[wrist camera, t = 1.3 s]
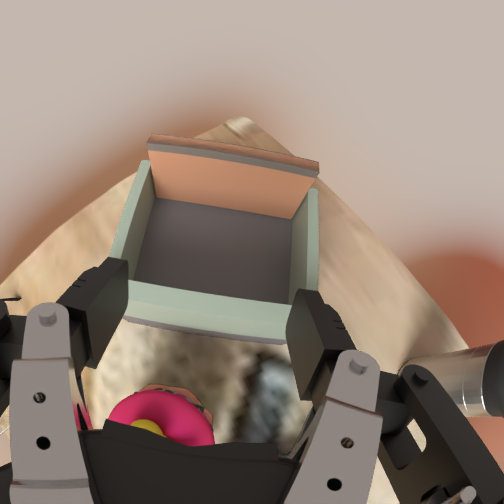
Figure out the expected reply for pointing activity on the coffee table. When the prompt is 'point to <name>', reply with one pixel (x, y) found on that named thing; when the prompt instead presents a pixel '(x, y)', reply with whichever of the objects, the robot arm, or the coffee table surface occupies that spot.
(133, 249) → the truck bed
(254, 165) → the panel
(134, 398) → the cake
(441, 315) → the coffee table surface
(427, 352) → the coffee table surface
